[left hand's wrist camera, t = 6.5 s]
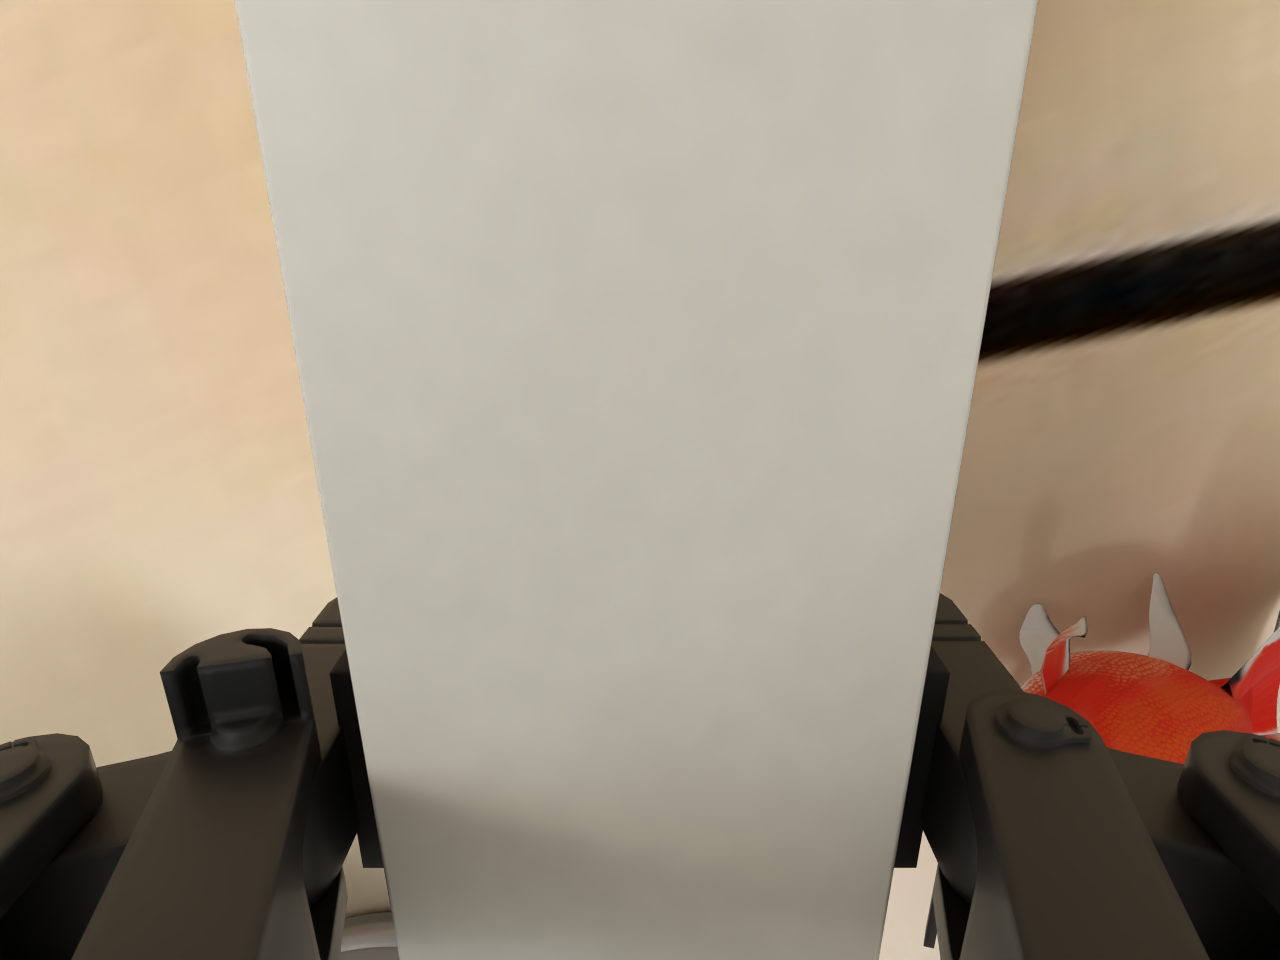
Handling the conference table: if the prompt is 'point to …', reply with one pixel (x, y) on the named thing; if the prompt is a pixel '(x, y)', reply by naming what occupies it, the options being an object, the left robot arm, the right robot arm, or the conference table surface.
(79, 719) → the conference table surface
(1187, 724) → the fish
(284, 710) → the left robot arm
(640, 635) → the beam
